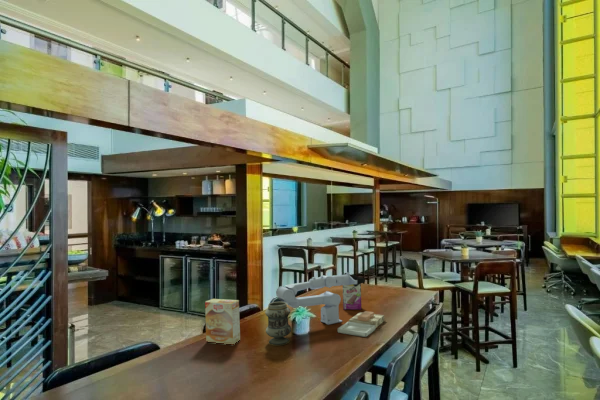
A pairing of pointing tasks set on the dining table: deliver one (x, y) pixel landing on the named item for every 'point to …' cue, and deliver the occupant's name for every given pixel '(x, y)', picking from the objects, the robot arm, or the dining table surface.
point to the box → (356, 329)
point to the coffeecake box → (222, 321)
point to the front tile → (363, 317)
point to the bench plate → (374, 320)
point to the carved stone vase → (278, 323)
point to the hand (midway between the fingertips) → (360, 278)
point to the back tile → (369, 313)
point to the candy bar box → (352, 297)
